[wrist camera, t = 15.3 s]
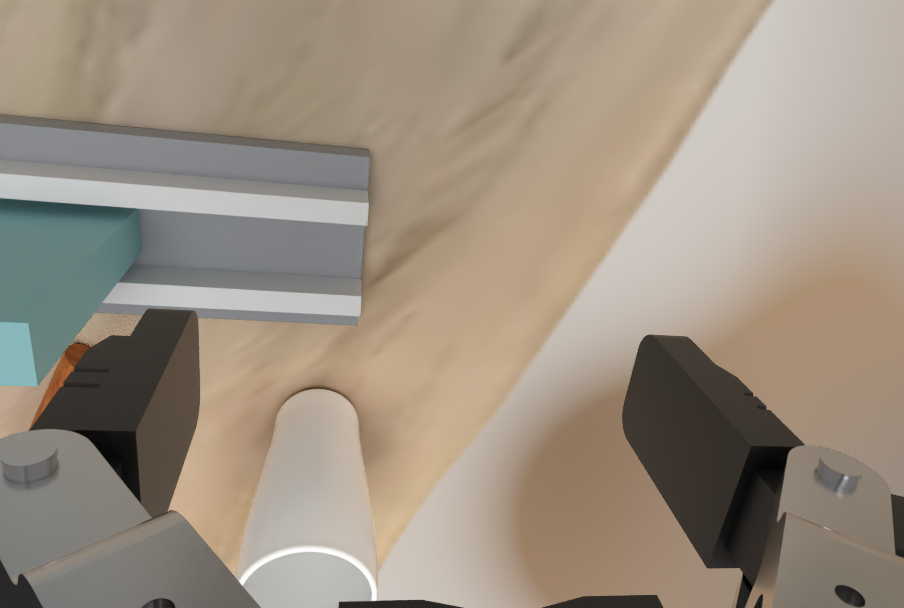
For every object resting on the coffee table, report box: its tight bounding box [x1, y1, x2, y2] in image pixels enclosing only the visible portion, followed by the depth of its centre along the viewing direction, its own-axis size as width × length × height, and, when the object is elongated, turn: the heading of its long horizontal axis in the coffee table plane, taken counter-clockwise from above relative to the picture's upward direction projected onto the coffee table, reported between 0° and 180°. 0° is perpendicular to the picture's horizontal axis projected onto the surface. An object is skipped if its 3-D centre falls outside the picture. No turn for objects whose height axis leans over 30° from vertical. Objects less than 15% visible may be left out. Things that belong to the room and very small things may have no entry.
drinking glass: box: [235, 389, 378, 608], centre depth 39 cm, size 7×7×15 cm
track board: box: [0, 114, 370, 326], centre depth 36 cm, size 10×24×4 cm, turn 83°
